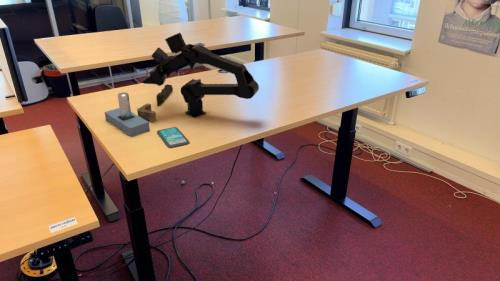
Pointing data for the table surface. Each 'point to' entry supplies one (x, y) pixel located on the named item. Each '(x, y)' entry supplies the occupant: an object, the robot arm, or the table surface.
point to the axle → (124, 106)
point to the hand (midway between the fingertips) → (146, 77)
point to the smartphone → (173, 137)
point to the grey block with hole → (127, 122)
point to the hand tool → (163, 94)
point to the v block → (147, 113)
